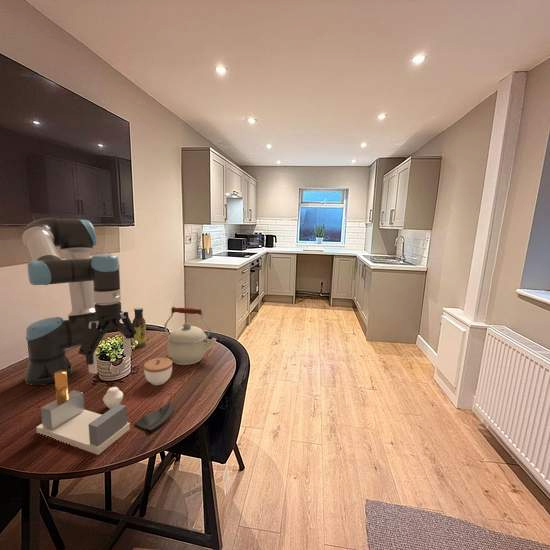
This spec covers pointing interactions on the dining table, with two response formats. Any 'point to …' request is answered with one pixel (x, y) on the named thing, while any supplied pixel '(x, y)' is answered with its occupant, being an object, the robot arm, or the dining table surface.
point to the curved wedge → (155, 418)
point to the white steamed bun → (113, 397)
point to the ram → (62, 403)
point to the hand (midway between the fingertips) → (111, 363)
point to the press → (91, 429)
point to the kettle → (187, 340)
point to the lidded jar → (158, 370)
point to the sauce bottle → (139, 327)
